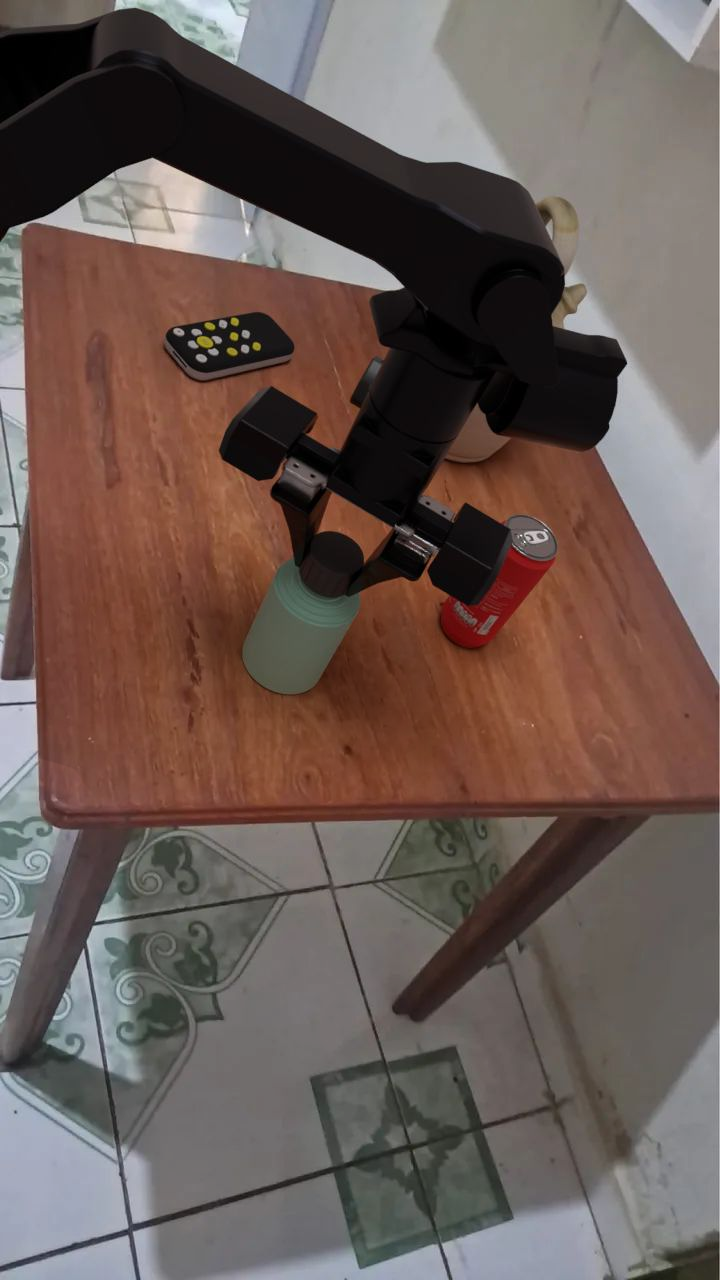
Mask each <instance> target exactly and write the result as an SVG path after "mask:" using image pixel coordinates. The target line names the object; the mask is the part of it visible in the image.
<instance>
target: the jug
mask: <svg viewBox="0 0 720 1280" xmlns="http://www.w3.org/2000/svg"><path fill="white" fill-rule="evenodd" d="M535 204H536V207H537V209H538V211H539V213H540V215H541V218H542V220H543V222H544V224H545V227H546V228H547V226H548V224H549V223H550V221H551V222H552V236H551V240H552V242H553V244H554V246H555V249H556V251H557V253H558V255H559V257H560V260H561V262H562V264H563V266H564V270H565V271H564V274H565V277H566V275H567V274H568V272H569V271H570V269H571V266H572V264H573V262H574V261H575V260H574V259H575V256H576V254H577V250H578V244H579V234H580V224H579V218H578V214H577V211H576V208H575V207H574V206H573V204H571V202H569V201H568V200H567V199H566V198H563V197H560V196H555V195H553V196H552V195H551V196H546V197H544V198H542V199H540V200H538V201H536V203H535ZM587 294H588V290H587V286H586V284H584V283H575V284H572V285H569V286H565V287H564V290H563V294H562V297H561V301H560V302H559V304H558V305H557V307H556V308H555V310H554V312H553V313H552V323H553V326H555V327H559V328H562V329H565V325H564V324H565V323H564V320H565V318H566V317H567V316H569V315H574V314H576V313H577V312H578V306H579V305H580V304H581V303H582V301H584V299H585V298H586V296H587ZM511 439H512V438H510V437H505V436H500V435H496V434H495V433H493V432H492V431H491V429H490V428H489V426H488V424H487V421H486V415H485V414H484V413H483V412H481V410H480V408H479V406H478V403H477V404H476V406H475V408H474V409H473V411H472V413H471V414H470V416H469V418H468V419H467V421H466V423H465V424H464V426H463V428H462V429H461V431H460V433H459V434H458V436H457V438H456V439H455V441H454V443H453V444H452V446H451V448H450V449H449V451H448V453H447V455H446V457H445V459H444V460H448V461H451V462H456V463H462V464H463V463H464V464H465V463H467V464H468V463H469V464H470V463H477V462H481V461H484V460H486V459H488V458H489V457H491V456H492V455H493V454H495V453H496V452H497V451H499V450H500V449H501V448H502V447H503V446H504V445H505V444H507V443H508V442H509V441H510V440H511Z"/></svg>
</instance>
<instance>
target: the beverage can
mask: <svg viewBox="0 0 720 1280" xmlns="http://www.w3.org/2000/svg"><path fill="white" fill-rule="evenodd" d="M500 523H501V524H503V525H505V526H506V527H508V528H510V529H511V534H512V539H513V542H512V545H511V547H510V549H509V551H508V554H507V556H506V558H505V561H504V563H503V565H502V567H501V570H500V572H499V574H498V577H497V579H496V580H495V582H494V584H493V585H492V587H491V589H490V590H489V591H488V593H487V594H486V595H485V597H484V598H483V599H482V601H481V602H480V603H479V605H474V606H467V605H465V604H464V603H462V602H460V601H459V600H457V599H455V598H454V597H452V596H450V595H448V597H447V598H446V600H445V601H444V602H443V604H442V607H441V616H440V625H441V628H442V629H441V630H442V631H443V633H444V634H445V635H446V637H447V638H448V639H449V640H450V641H451V642H453V643H455V644H456V645H458V646H460V647H463V648H467V649H476V648H479V647H481V646H482V645H486V644H488V643H490V642H491V641H492V640H494V639H495V637H496V636H497V634H498V633H499V632H500V631H501V630H502V629H503V627H504V626H505V624H507V622H508V621H509V620H510V618H511V617H512V616H513V615H514V613H515V612H516V611H517V609H519V607H520V606H521V605H522V604H523V602H524V601H525V599H526V598H527V597H528V596H529V595H530V593H532V591H533V590H534V589H535V587H536V586H537V584H538V583H540V581H541V579H543V577H544V576H545V574H547V572H548V571H549V570H550V568H551V567H552V566H553V565H554V563H555V560H556V557H557V554H558V551H559V543H558V539H557V538H556V535H555V534H554V532H553V531H552V530H551V528H549V526H547V524H545V523H544V522H543V521H541V520H539V519H538V518H536V517H535V516H533V515H528V514H524V513H516V514H515V513H514V514H512V515H510V516H508V517H507V518H506V519H504V520H502V521H501V522H500Z"/></svg>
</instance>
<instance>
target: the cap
mask: <svg viewBox="0 0 720 1280" xmlns="http://www.w3.org/2000/svg"><path fill="white" fill-rule="evenodd" d="M364 555H365V554H364V552H363V549H362V548H361V546H360V545H359V543H357V542H356V541H355V540H354V539H353V538H351V537H350V536H348V535H346V534H345V533H342V532H339V531H335V530H325V531H321V532H318V533H317V535H315V536H314V537H313V538H312V540H311V542H310V545H309V547H308V550H307V552H306V555H305V558H304V560H303V562H302V564H301V565H300V567H299V574H300V577H301V579H302V581H303V583H304V584H305V585H306V586H307V587H308V588H309V589H310V590H311V591H313V592H314V593H316V594H318V595H321V596H324V597H329V598H337V597H341V596H343V595H345V594H346V592H347V588H348V586H349V585H350V584H351V582H352V581H353V580H354V578H355V577H356V576H357V574H358V573H359V571H360V570H361V568H362V567H363V564H364V563H365V556H364Z"/></svg>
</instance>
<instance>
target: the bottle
mask: <svg viewBox="0 0 720 1280" xmlns="http://www.w3.org/2000/svg"><path fill="white" fill-rule="evenodd" d="M360 608H361V595H360V592H359V593H357V594H355V595H353V596H351V597H347V596H346V595H343V596H341V597H337V598H329V597H324V596H321V595H318V594H316V593H314V592H313V591H311V590H310V589H309V588H308V587H307V586H306V585H305V584H304V583H303V581H302V579H301V577H300V574H299V568H298V567H297V566H295V563H294V557H291V558H289V559H287V560H285V561H284V562H283V563H281V564H280V565H279V567H278V568H277V569H276V571H275V574H274V575H273V578H272V580H271V583H270V584H269V586H268V589H267V591H266V593H265V596H264V597H263V600H262V602H261V605H260V606H259V608H258V611H257V613H256V615H255V618H254V620H253V622H252V624H251V627H250V628H249V631H248V633H247V635H246V637H245V640H244V642H243V644H242V648H241V657H242V662H243V664H244V668H245V669H246V671H247V672H248V674H249V675H250V677H251V678H252V679H253V680H254V681H255V682H256V683H257V684H259V685H260V686H261V687H263V688H265V689H267V690H269V691H271V692H274V693H278V694H283V695H299V694H302V693H306V692H307V691H310V690H311V689H313V688H314V687H315V686H316V685H317V683H319V680H320V679H321V677H322V675H323V674H324V672H325V670H326V668H327V667H328V665H329V663H330V662H331V660H332V658H333V656H334V655H335V653H336V651H337V650H338V648H339V646H340V644H341V642H342V641H343V639H344V637H345V636H346V634H347V632H348V630H349V629H350V627H351V625H352V624H353V621H354V620H355V618H356V617H357V615H358V613H359V611H360Z"/></svg>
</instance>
